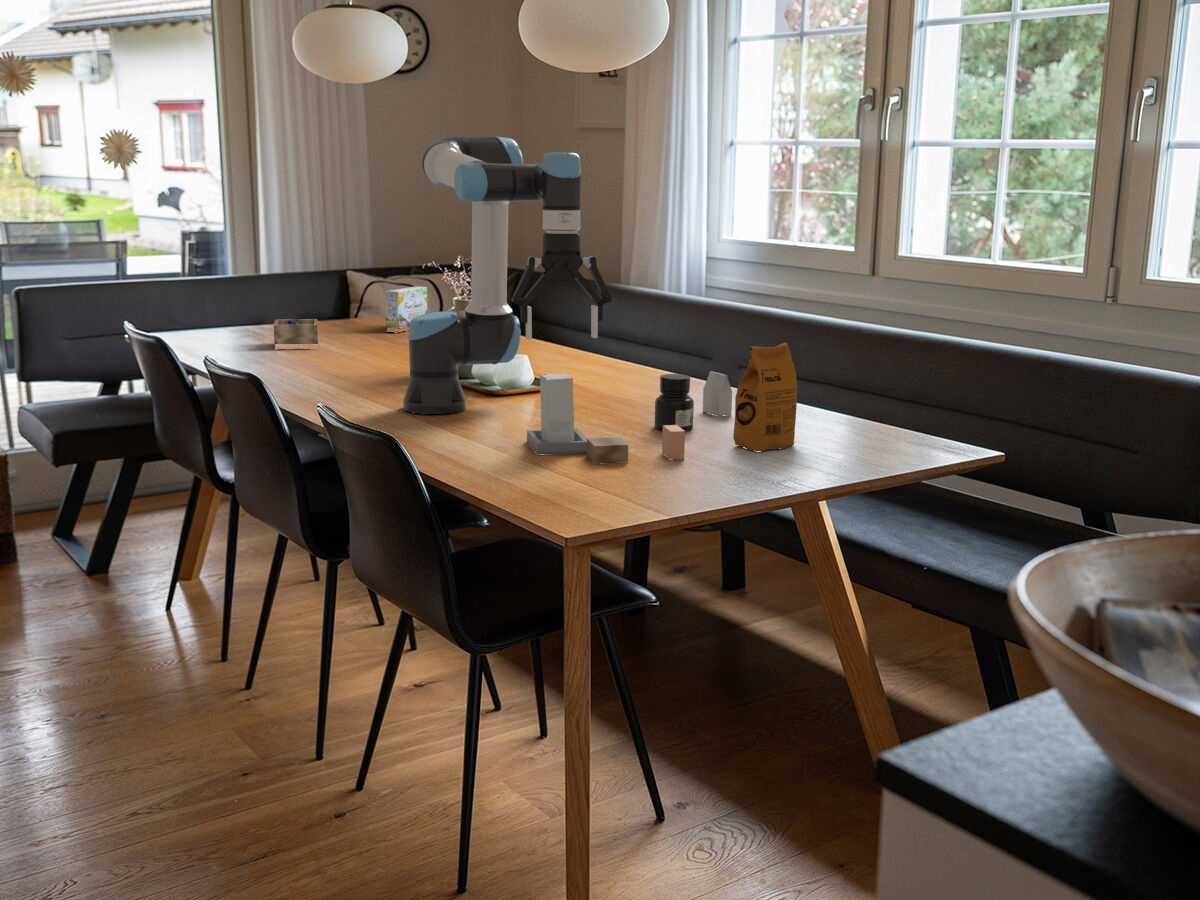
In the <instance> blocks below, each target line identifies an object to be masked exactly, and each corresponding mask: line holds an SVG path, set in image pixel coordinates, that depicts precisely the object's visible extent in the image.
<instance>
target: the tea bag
mask: <svg viewBox="0 0 1200 900" xmlns="http://www.w3.org/2000/svg"><path fill="white" fill-rule="evenodd" d="M702 390H703V392H702V393H703V394H702V395H703V396H702V413H704V412H706V413H705V414H707V413H710V414H709V415H711V414H714V415H717V416H723V415H731V416H732V408H733V406H732V405H733V391H732V388H731V383H730V381H729V377H728V375H727V374H723V373H720V372H715V371H709V374H708V377H707V379H706V382H705V384H704V386H703V389H702ZM714 415H713V416H714ZM717 416H716V417H717Z"/></svg>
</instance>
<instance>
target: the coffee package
mask: <svg viewBox="0 0 1200 900" xmlns="http://www.w3.org/2000/svg"><path fill="white" fill-rule="evenodd" d="M747 351H748V353H749V354H750V356H751V358H750V359H749V361H748V365H747V367H746V370H745V372H744V374H743V375H742V377H741V379H740V380H739V384H738V386H737V389H736V393H735V396H734V398H735V400H734V401H735V402H734V403H735V405H734V409H735V410H734V426H733V438H732V439H733V441H734V444H735V446H736V445H739V447H740V446H742V447H745V448H747V449H746V450H748V449H749V450H748V451H750V450H755V451H763V452H765V451H764V450H766V451H768V450H776V449H779V448H784V449H786V448H785V447H787V448H789V447H793V446H795V436H796V435H795V434H796V432H795V431H796V419H797V404H798V401H797V398H798V397H797V396H798V386H797V385H798V381H797V372H796V369H795V364H794V361H793V358H792V354H791V351H790V349H789V345H788V343H787V342H784V343H781V344H779V345H776V346H774V347H769V346H768V347H767V346H766V347H765V346H752V345H750V346H749V348H748V349H747ZM788 446H789V447H788ZM742 447H741V448H742Z"/></svg>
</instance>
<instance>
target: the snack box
mask: <svg viewBox="0 0 1200 900" xmlns="http://www.w3.org/2000/svg"><path fill="white" fill-rule="evenodd" d="M423 314H428V287H427V286H419V285H418V286H417V285H415V286H409V287H404V288H397V289H396V288H395V289H390V290H386V291H385V329H386V328H393V329H400V328H404V327H409V324H410V321H411V320H412V319H413V318H414V317H417V316H419V315H423Z"/></svg>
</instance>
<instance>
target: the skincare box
mask: <svg viewBox="0 0 1200 900" xmlns="http://www.w3.org/2000/svg"><path fill="white" fill-rule="evenodd" d="M573 382H574V378H573V377H571V376H570V375H569V374H567V373H565V372H564V373H546V374H545V373H543V374H540V375H539V384H540V385H539V386H540V388H539V389H540V392H539V393H540V421H541V423H540V425H541V429H540V430H541V432H542V442H569V441H574V429H575V419H574V418H575V416H574V415H575V414H574V412H575V411H574V409H575V408H574V383H573Z"/></svg>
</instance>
